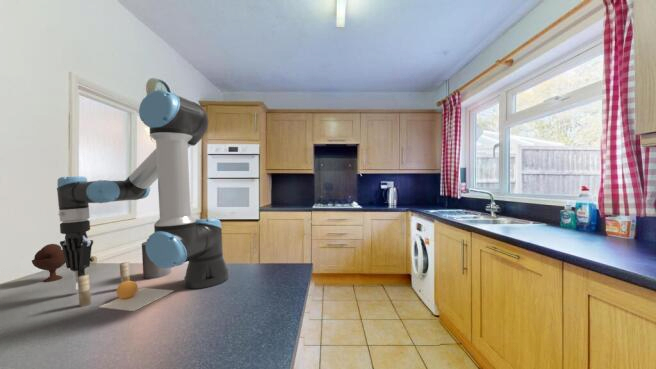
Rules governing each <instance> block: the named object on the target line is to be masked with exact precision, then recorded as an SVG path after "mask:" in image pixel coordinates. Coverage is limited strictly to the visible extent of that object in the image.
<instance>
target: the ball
mask: <svg viewBox="0 0 656 369" xmlns="http://www.w3.org/2000/svg"><path fill="white" fill-rule="evenodd" d="M137 290H139V289H138V284H137V283H136V282H135V281H133V280H130V281H125V282H122V283H121V282H120V283H119V285H118V286H117V288H116V292H115V294H116V295H117V297H118V298H123V299H127V298H130V297H132V296H133V295H134V294H135V293H136V292H137Z"/></svg>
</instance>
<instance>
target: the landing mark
mask: <svg viewBox="0 0 656 369" xmlns="http://www.w3.org/2000/svg"><path fill="white" fill-rule="evenodd" d="M173 292H175V289H174V290H173V289H161V288H160V289H159V288H149V287H148V288H147V287H141V288H139V289H137V292H136V293H135V294H134V295H133V296H132V297H130V298H127V299H123V298H120V297H118V298H116V299H114V300H111V301H109V302H107V303H104V304H102V305H99V306H98V308H101V309H110V310H120V311H129V312H135V311H137V310H139V309H141V308H143V307H144V306H147V305H149V304H151V303H153V302H155V301H156V300H159V299H161V298H164V297H165V296H167V295H169V294H171V293H173Z"/></svg>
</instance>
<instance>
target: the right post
mask: <svg viewBox="0 0 656 369" xmlns="http://www.w3.org/2000/svg"><path fill="white" fill-rule="evenodd" d="M119 273H120V284H121V283H122V282H125V281H131V275H130V263H129V262H127V261H125V262H122V263H120V264H119Z"/></svg>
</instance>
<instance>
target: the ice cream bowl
mask: <svg viewBox="0 0 656 369" xmlns="http://www.w3.org/2000/svg"><path fill="white" fill-rule="evenodd" d="M31 262H32V265H33V266H34V267H35V268H38V269H39V270H42V271H48V272H49V276H48V277H47V278H45V279H43V281H42V282H44V283H50V282H55V281H59V280H61V279H62V278H63V276H62V275H58V274H57V269H59V268H62V266H64V265H66V262H65V258H64V254H63V249H62V247H61V245H60V244H57V243H50V244H46V245H44V246H43V247H41V248H40V249H39V250H38V251H37V252H36V253H35V254H34V257H33V259H32V260H31Z"/></svg>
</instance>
